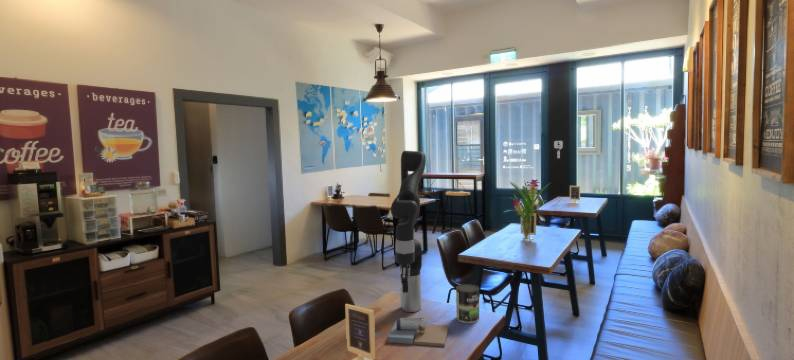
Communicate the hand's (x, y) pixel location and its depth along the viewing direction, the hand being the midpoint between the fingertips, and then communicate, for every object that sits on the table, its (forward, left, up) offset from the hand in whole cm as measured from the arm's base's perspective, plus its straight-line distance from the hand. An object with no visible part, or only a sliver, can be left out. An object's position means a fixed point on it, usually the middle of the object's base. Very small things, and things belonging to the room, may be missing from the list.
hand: (405, 291), depth 169 cm
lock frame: (+1, +6, -19) cm, 20 cm away
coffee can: (+1, +32, -20) cm, 38 cm away
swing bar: (-1, +3, -17) cm, 17 cm away
